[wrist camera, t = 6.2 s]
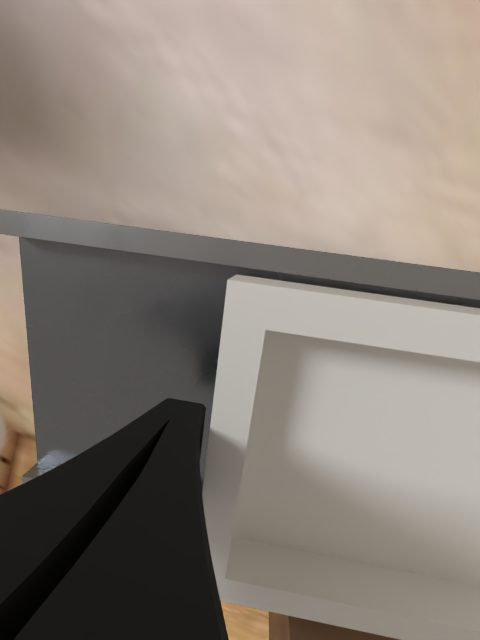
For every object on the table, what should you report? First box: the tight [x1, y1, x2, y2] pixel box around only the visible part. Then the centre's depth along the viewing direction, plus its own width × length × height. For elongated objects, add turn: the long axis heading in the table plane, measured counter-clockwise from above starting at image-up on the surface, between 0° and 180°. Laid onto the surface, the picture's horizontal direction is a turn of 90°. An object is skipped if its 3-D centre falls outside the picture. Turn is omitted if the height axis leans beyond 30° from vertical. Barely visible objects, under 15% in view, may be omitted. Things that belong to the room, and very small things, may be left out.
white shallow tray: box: [202, 275, 480, 640], centre depth 8 cm, size 10×12×4 cm
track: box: [0, 209, 480, 492], centre depth 9 cm, size 12×23×3 cm, turn 82°
